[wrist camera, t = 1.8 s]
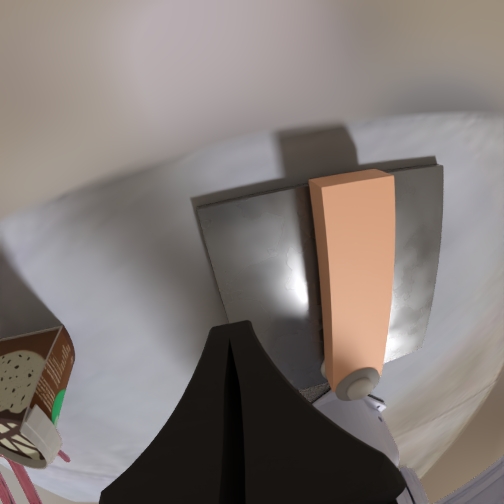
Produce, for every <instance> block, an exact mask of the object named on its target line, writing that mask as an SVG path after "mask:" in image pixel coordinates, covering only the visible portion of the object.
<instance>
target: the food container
mask: <svg viewBox="0 0 504 504" xmlns="http://www.w3.org/2000/svg"><path fill="white" fill-rule="evenodd" d="M74 361H75V351H74V346H73V343H72V340H71V338H70V336H69V333H68V332H67V330H66V328H65V327H64V325H61V326H57V327H52V328H48V329H43V330H39V331H34V332H30V333H25V334H20V335H16V336H11V337H6V338H1V339H0V455H2V456H3V457H5V458H7V459H9V460H11V461H13V462H16V463H18V464H20V465H23V466H26V467H29V468H34V469H45V468H46V467H47V466H48V464H50V463H52V462H53V460H54V459H55V457H56V455H57V454H58V452H59V450H60V449H61V446H62V440H61V437H60V435H59V432H58V431H57V429H56V426H57V422H58V418H59V414H60V410H61V406H62V402H63V398H64V395H65V391H66V387H67V384H68V381H69V377H70V374H71V371H72V367H73V364H74Z"/></svg>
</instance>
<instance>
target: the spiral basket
mask: <svg viewBox="0 0 504 504" xmlns="http://www.w3.org/2000/svg"><path fill="white" fill-rule="evenodd" d="M57 455H58V456H60V457H61V458H62V459H63V460H64V461H66V462H70V458H69V457H68V456H67V455H66V454H65V453H64V452H63V451H61V450H59V452H58V454H57ZM0 457H3V456H2V455H0ZM4 458H5V457H4ZM5 459H6V460H7V461H8V462H9V464H10V466H11V467H12V469H13V471H14V473H15V475H16V477H17V479H18V481H19V483H20V485H21V487H22V489H23V491H24V493H25V494H26V497H27V499H28V501H29V503H30V504H42V502H41V500H40V498H39V496H38V494H37V492H36V490H35V488H34V486H33V484H32V482H31V480H30V478H29V476H28V474H27V472H26V470H25V468H24V467H23V465H20V464H18V463H16V462H13V461H11V460H9V459H7V458H5ZM0 498H1V501H2V503H3V504H16V503H15V501H14V499H13V497H12V495H11V493H10V490H9V488H8V487H7V484H6V482H5V480H4V479H3V477H2V475H1V473H0Z"/></svg>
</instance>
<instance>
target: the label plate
mask: <svg viewBox="0 0 504 504" xmlns="http://www.w3.org/2000/svg"><path fill="white" fill-rule="evenodd" d="M383 172H386V173H388V174H391V175H394V186H395V258H394V276H393V290H392V302H391V311H390V320H389V328H388V336H387V343H386V350H385V356H384V362H383V363H386V362H388V361H391V360H394V359H396V358H399V357H401V356H404V355H406V354H408V353H411V352H413V351H415V350H418V349H420V348H422V346H423V342H424V338H425V334H426V330H427V325H428V321H429V316H430V311H431V306H432V301H433V295H434V289H435V283H436V276H437V269H438V262H439V253H440V243H441V232H442V216H443V165H439V164H434V165H425V166H417V167H409V168H401V169H394V170H387V171H383ZM197 213H198V217H199V220H200V224H201V228H202V231H203V235H204V239H205V242H206V246H207V250H208V253H209V257H210V260H211V264H212V267H213V271H214V274H215V278H216V281H217V285H218V288H219V291H220V295H221V298H222V301H223V305H224V308H225V311H226V315H227V318H228V321H229V324H230V323H235V322H240V321H244V320H249V321H251V323H252V327H253V329H254V332H255V334H256V336H257V338H258V340H259V341H260V343H261V345H262V347H263V348H264V350H265V351H266V353H267V354H268V356H269V357H270V358H271V360H272V361H273V363H274V364H275V365H276V367H277V368H278V369H279V370H280V372H281V373H282V374H283V375H284V376H285V378H286V379H287V380H288V381H289V382H290V383H291V384H292V385H293V386H294V388H295V389H296V390H301V389H304V388H308V387H312V386H316V385H319V384H323V383H326V382H328V379H327V377H326V375H325V354H324V333H323V316H322V302H321V288H320V276H319V265H318V255H317V245H316V236H315V227H314V218H313V210H312V202H311V194H310V187H309V183H307V184H302V185H297V186H291V187H286V188H281V189H276V190H271V191H266V192H262V193H257V194H252V195H247V196H243V197H238V198H234V199H229V200H225V201H220V202H216V203H212V204H208V205H203V206H199V207H197Z"/></svg>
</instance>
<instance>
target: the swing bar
mask: <svg viewBox="0 0 504 504" xmlns="http://www.w3.org/2000/svg"><path fill="white" fill-rule="evenodd" d="M309 187H310V194H311V202H312V210H313V218H314V227H315V236H316V245H317V255H318V265H319V276H320V288H321V302H322V316H323V333H324V354H325V375H326V377H327V379H328V382H329V384H330V387H331V389H332V392H335V394H336V396H337V398H338V399H340V400H342V401H352V400H359V399H362V398H364V397H366V396H367V395H369V394H370V393H371V392H372V390H373V389H374V388H375V387H376V385H377V384H378V382H379V380H380V376H381V373H382V368H383V362H384V356H385V350H386V343H387V336H388V328H389V320H390V311H391V302H392V290H393V276H394V258H395V186H394V175H391V174H388V173H386V172H383V171H380V170H377V169H370V170H363V171H356V172H350V173H344V174H337V175H331V176H326V177H320V178H314V179H309Z"/></svg>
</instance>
